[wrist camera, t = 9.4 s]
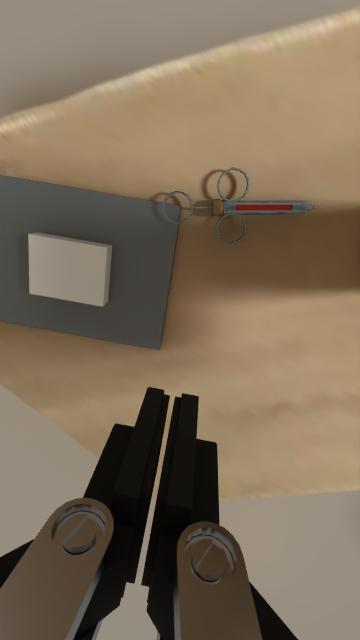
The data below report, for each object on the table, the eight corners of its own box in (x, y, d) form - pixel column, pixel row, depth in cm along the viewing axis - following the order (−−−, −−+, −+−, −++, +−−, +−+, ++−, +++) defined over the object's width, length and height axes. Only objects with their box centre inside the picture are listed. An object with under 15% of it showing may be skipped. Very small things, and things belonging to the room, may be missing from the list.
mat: (181, 206, 35) (180, 206, 35) (159, 348, 42) (159, 350, 41) (-9, 173, 36) (-12, 173, 35) (-1, 319, 42) (-3, 320, 42)
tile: (107, 247, 35) (28, 233, 35) (103, 306, 37) (29, 293, 38) (113, 244, 37) (38, 232, 37) (108, 301, 40) (39, 288, 40)
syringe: (323, 243, 35) (329, 245, 34) (164, 243, 36) (162, 245, 35) (335, 167, 33) (342, 165, 31) (162, 169, 34) (160, 167, 32)
